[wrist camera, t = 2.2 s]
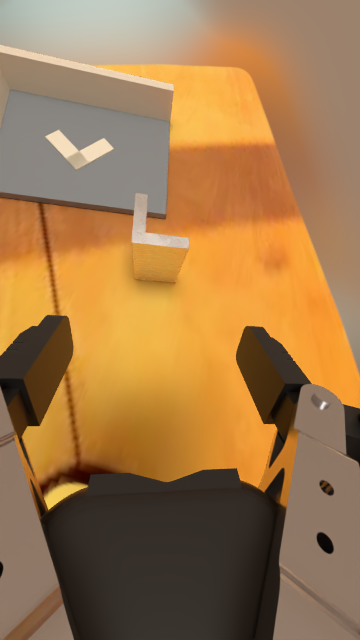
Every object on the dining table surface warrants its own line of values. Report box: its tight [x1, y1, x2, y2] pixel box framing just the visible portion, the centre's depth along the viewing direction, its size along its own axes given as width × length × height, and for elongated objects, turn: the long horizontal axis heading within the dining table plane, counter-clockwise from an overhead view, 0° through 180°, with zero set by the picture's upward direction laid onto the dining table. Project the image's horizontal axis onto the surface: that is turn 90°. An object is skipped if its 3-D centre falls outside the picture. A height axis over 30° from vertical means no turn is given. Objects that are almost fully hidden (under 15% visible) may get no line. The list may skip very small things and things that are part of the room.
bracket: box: [132, 193, 189, 283], centre depth 26 cm, size 6×6×9 cm
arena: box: [0, 45, 174, 219], centre depth 30 cm, size 24×18×5 cm
